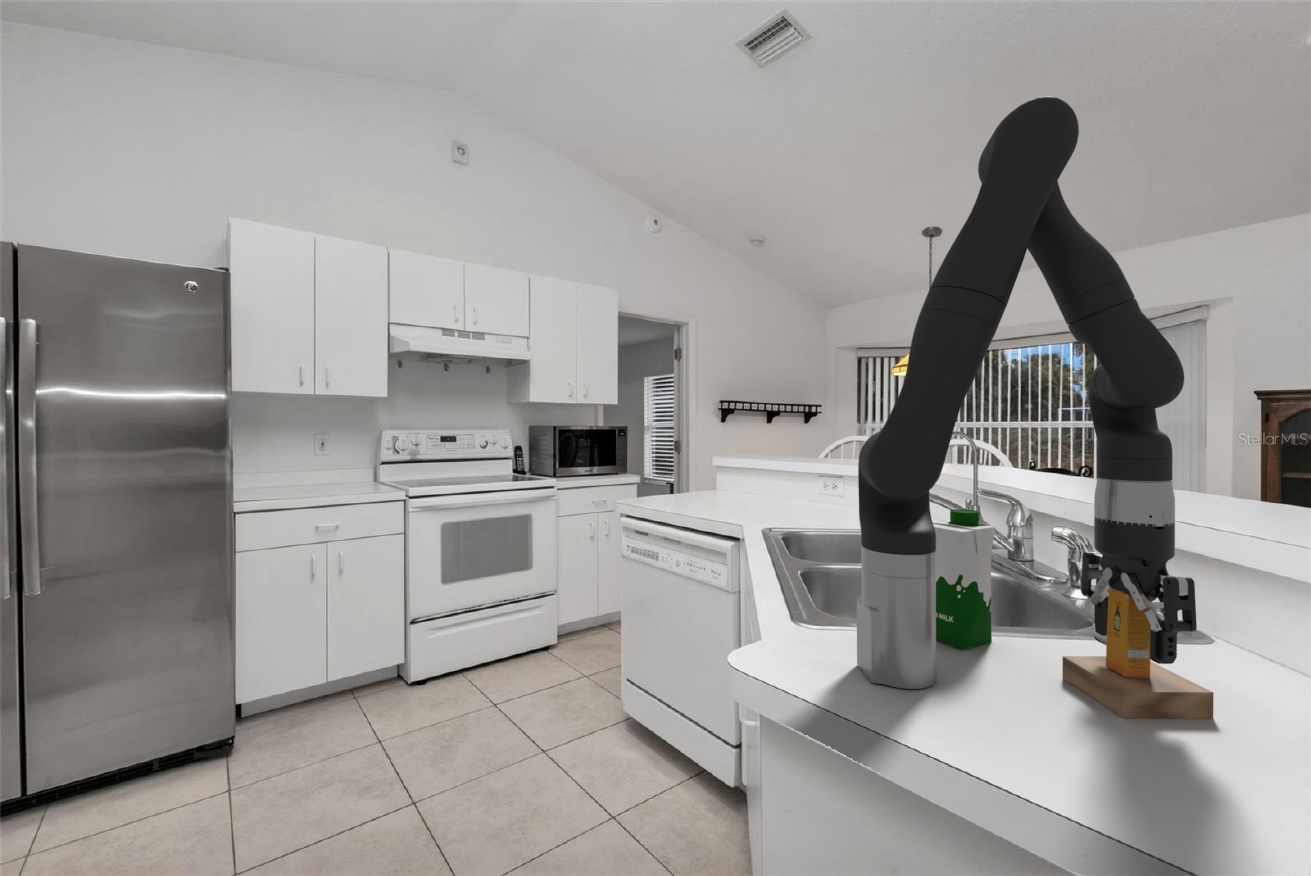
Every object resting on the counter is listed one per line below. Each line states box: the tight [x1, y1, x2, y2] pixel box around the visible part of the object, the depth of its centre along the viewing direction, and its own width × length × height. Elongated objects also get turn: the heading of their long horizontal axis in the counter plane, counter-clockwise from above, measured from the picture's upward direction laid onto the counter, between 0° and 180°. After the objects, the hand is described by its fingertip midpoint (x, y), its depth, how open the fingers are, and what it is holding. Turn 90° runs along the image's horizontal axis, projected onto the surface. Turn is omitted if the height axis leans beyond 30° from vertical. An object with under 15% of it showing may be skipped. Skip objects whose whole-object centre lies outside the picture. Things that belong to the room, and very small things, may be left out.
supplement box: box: [1105, 588, 1152, 678], centre depth 69 cm, size 3×3×10 cm
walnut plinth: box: [1062, 655, 1214, 720], centre depth 69 cm, size 10×10×3 cm
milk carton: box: [932, 508, 996, 651], centre depth 88 cm, size 9×9×20 cm
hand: (1132, 647), depth 69 cm, fingers open, 8 cm apart
